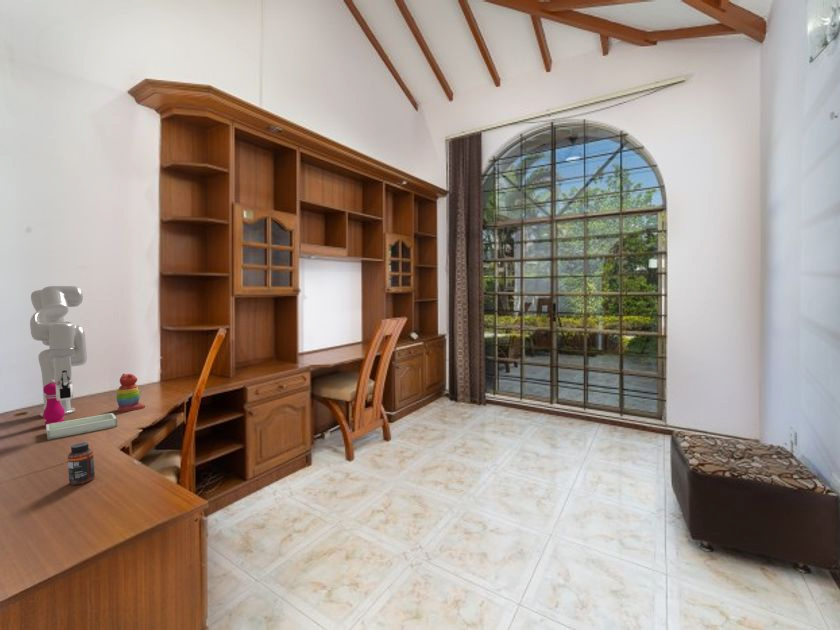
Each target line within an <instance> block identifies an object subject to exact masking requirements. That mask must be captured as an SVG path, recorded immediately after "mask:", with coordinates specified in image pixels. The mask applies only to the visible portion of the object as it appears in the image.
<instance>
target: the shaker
mask: <svg viewBox="0 0 840 630" xmlns="http://www.w3.org/2000/svg"><path fill="white" fill-rule="evenodd" d="M69 386H70V393H71V397H70V398H63V399H61V398H60V389H61V388H60V384H59V383H56V400H57V401H62V400H69V399H70V400H72V399H73V398H74V387H73V386H74V385H73V381H72V380H70V381H69Z"/></svg>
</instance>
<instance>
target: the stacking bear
mask: <svg viewBox="0 0 840 630" xmlns="http://www.w3.org/2000/svg"><path fill="white" fill-rule="evenodd" d="M137 382H138V377H136V376H135V375H134V374H132V373H126V374H125V373H122V375H121V376H120V378H119V383H120V384H119V385H120V386H119V387H118V389H117V392H116V402H117V405H118V408H117V411H118V412H130V411H131V412H132V411H137V410H141V409H144V408H146V406H145V404H144V403H140V397H141V396H140V395H141V394H140V390H139V387H138V385H137V384H136V383H137Z"/></svg>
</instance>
